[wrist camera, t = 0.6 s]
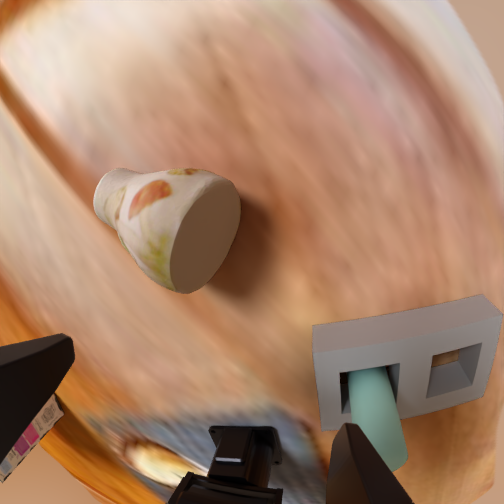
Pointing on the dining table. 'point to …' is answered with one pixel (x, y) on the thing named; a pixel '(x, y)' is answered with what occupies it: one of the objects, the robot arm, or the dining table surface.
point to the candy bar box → (31, 436)
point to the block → (409, 356)
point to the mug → (171, 222)
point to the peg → (377, 414)
